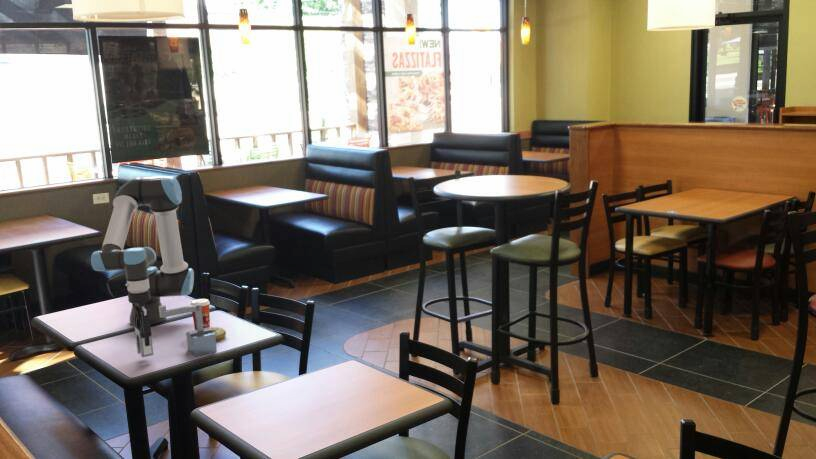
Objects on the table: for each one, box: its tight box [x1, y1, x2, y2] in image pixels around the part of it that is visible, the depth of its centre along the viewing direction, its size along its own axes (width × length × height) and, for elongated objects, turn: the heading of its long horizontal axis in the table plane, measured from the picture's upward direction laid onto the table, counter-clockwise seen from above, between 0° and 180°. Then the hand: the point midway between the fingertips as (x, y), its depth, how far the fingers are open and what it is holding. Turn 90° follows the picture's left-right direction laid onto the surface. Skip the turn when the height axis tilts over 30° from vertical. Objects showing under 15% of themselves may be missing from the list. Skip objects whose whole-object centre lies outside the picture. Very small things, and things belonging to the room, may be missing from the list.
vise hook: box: [159, 304, 218, 357], centre depth 275 cm, size 10×18×20 cm, turn 124°
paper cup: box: [189, 298, 211, 330], centre depth 299 cm, size 8×8×14 cm
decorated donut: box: [210, 326, 227, 342], centre depth 294 cm, size 10×11×4 cm
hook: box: [134, 325, 154, 358], centre depth 270 cm, size 7×4×10 cm, turn 33°
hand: (145, 351), depth 271 cm, fingers closed on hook, 7 cm apart
